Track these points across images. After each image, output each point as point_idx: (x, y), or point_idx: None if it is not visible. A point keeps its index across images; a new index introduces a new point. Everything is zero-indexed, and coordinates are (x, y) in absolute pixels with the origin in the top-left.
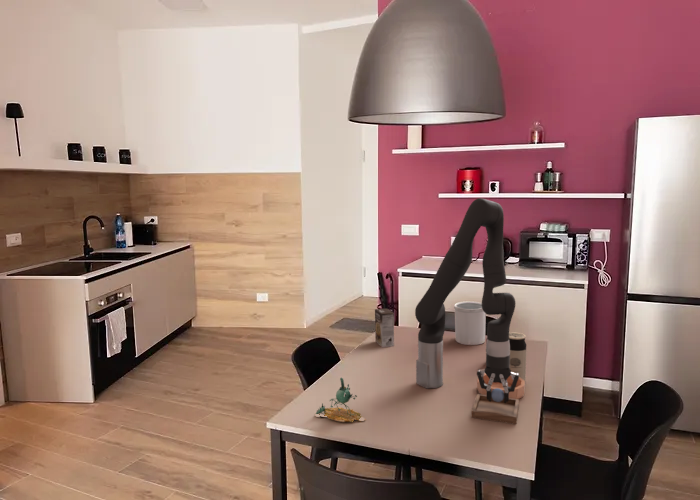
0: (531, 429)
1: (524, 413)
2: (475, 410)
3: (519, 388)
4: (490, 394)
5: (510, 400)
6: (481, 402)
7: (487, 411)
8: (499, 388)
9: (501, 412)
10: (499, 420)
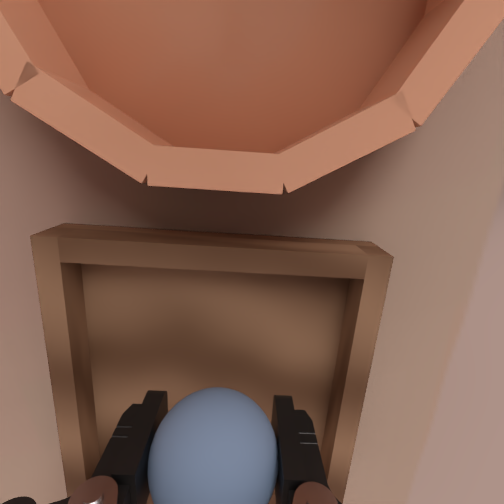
0: (398, 496)
1: (391, 344)
2: None
3: (448, 85)
4: (147, 494)
5: (319, 273)
6: (103, 298)
7: None
8: (221, 162)
9: None
10: None
